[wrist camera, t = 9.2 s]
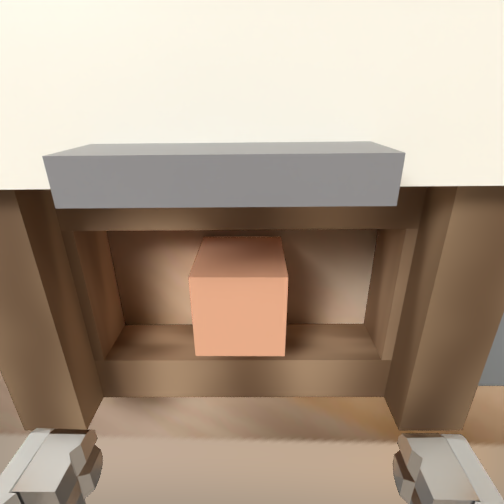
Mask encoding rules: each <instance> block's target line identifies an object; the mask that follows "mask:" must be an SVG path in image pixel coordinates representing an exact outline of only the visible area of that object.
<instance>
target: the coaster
mask: <svg viewBox="0 0 504 504" xmlns="http://www.w3.org/2000/svg"><path fill="white" fill-rule="evenodd" d="M478 386H504V313H503V316H502V319H501V321H500V324H499V327H498V330H497V333H496V336H495V338H494V341H493V344H492V347H491V350H490V353H489V355H488V358H487V361H486V364H485V367H484V370H483V372H482V375H481V378H480V381H479V384H478Z"/></svg>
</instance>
